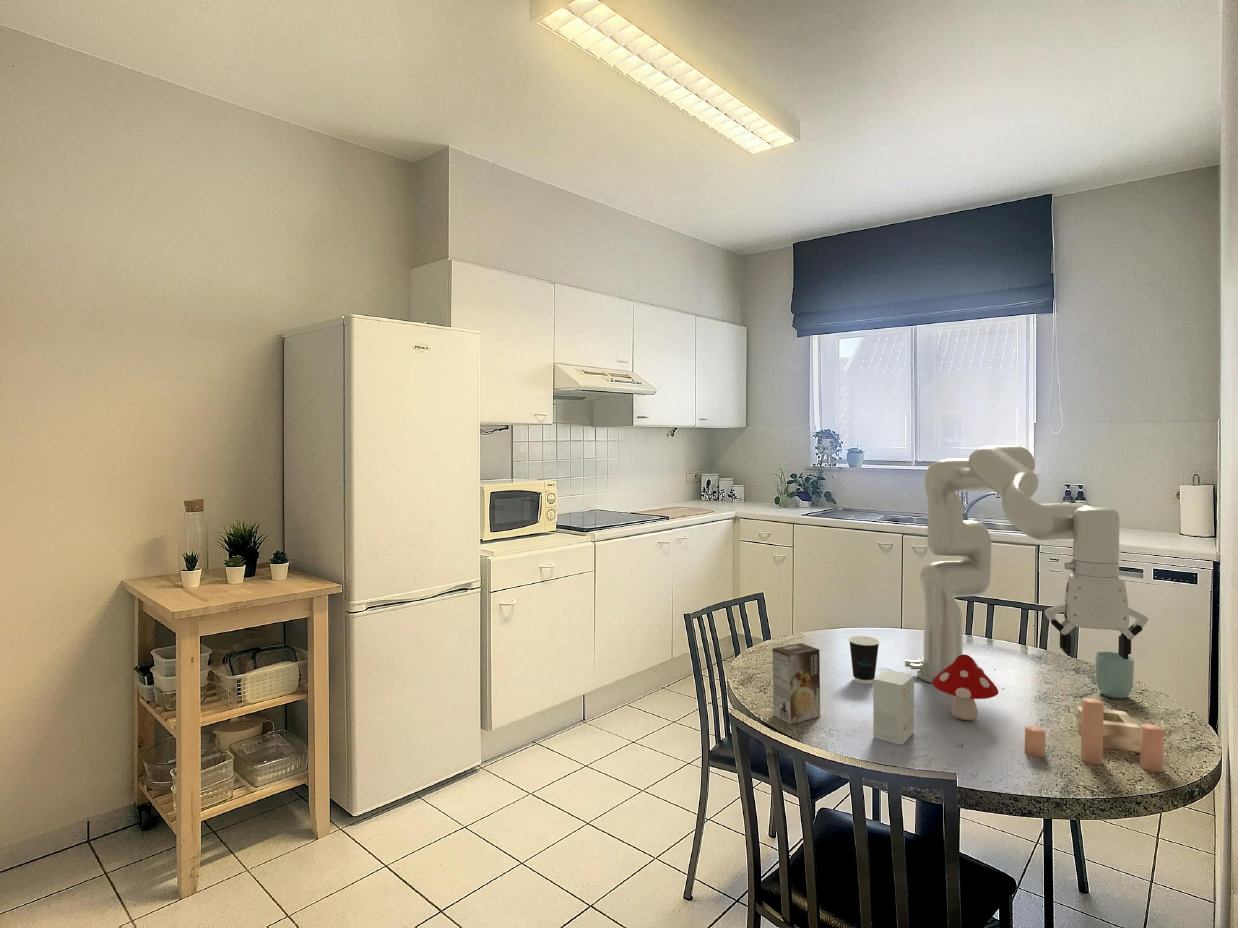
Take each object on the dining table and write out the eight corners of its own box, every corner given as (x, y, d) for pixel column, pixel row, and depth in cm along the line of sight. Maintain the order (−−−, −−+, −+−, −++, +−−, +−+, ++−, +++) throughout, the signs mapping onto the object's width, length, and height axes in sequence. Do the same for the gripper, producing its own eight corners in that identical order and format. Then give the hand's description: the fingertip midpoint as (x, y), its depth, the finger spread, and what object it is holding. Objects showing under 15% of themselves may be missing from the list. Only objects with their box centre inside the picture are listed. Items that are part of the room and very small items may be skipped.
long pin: (1084, 763, 137) (1084, 703, 137) (1078, 755, 141) (1079, 697, 140) (1105, 765, 136) (1106, 705, 136) (1099, 757, 139) (1100, 699, 139)
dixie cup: (862, 687, 179) (863, 645, 179) (841, 677, 187) (842, 637, 186) (886, 682, 183) (886, 641, 182) (864, 673, 190) (865, 634, 189)
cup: (1139, 702, 168) (1140, 661, 168) (1103, 700, 170) (1104, 660, 169) (1123, 690, 176) (1123, 652, 175) (1089, 688, 177) (1089, 650, 177)
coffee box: (801, 707, 166) (801, 642, 166) (820, 717, 161) (821, 649, 160) (771, 715, 162) (771, 647, 161) (790, 725, 156) (790, 655, 156)
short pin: (1026, 755, 141) (1027, 731, 140) (1022, 748, 144) (1023, 724, 144) (1047, 758, 139) (1047, 734, 139) (1042, 750, 143) (1043, 727, 143)
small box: (885, 725, 156) (885, 668, 155) (914, 733, 152) (915, 674, 151) (872, 737, 150) (872, 678, 149) (902, 746, 145) (902, 685, 145)
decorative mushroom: (970, 704, 168) (971, 643, 167) (1014, 727, 154) (1015, 661, 154) (919, 709, 165) (919, 647, 164) (959, 733, 151) (959, 666, 151)
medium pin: (1144, 770, 134) (1144, 730, 134) (1137, 762, 137) (1137, 722, 137) (1166, 773, 133) (1167, 732, 132) (1158, 765, 136) (1159, 725, 136)
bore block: (1088, 745, 145) (1089, 722, 145) (1076, 728, 153) (1076, 706, 153) (1139, 751, 142) (1140, 727, 142) (1124, 733, 150) (1124, 711, 150)
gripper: (1050, 570, 136) (1049, 656, 137) (1155, 575, 130) (1154, 665, 131) (1040, 564, 143) (1040, 646, 144) (1140, 568, 138) (1139, 653, 138)
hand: (1094, 655), depth 137 cm, fingers open, 9 cm apart
